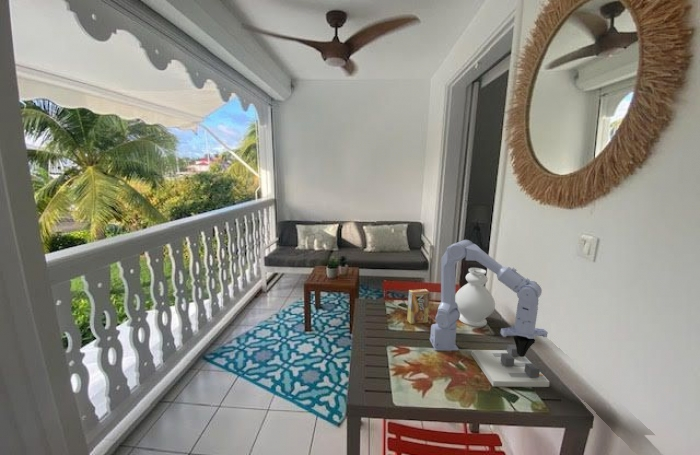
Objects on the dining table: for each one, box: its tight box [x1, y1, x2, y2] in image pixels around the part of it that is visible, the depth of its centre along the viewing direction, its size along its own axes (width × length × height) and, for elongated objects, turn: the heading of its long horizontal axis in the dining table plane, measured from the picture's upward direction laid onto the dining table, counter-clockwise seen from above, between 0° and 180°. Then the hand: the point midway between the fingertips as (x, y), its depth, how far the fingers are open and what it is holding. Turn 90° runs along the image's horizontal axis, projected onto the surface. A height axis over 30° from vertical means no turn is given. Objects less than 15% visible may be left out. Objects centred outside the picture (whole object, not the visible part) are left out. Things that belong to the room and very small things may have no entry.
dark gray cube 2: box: [501, 353, 514, 366], centre depth 101 cm, size 3×3×3 cm
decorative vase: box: [455, 267, 496, 328], centre depth 135 cm, size 18×18×25 cm
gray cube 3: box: [524, 362, 541, 377], centre depth 96 cm, size 3×3×3 cm
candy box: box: [406, 288, 431, 325], centre depth 133 cm, size 9×4×15 cm, turn 103°
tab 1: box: [506, 344, 519, 357], centre depth 107 cm, size 3×3×3 cm
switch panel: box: [470, 349, 550, 388], centre depth 102 cm, size 18×17×2 cm
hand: (520, 354), depth 97 cm, fingers closed
